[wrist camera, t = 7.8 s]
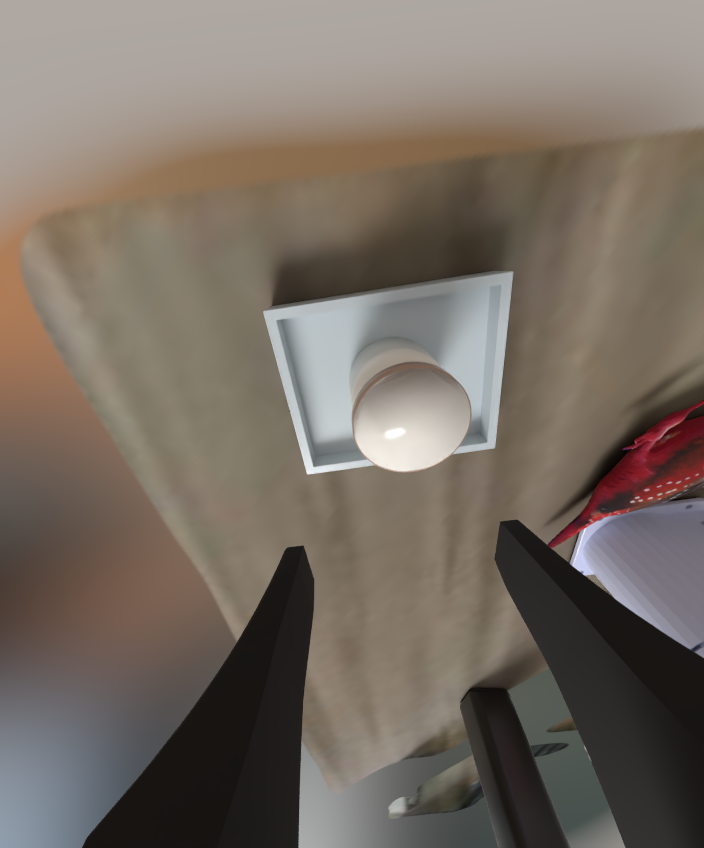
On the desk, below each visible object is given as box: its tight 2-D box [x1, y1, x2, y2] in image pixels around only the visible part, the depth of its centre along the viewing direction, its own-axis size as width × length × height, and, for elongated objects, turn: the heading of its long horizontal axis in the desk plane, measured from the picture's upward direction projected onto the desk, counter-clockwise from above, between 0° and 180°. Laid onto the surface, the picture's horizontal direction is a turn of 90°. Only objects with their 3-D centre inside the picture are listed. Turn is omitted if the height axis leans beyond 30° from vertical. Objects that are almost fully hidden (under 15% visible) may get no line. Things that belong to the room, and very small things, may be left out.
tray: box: [263, 271, 513, 474], centre depth 17 cm, size 12×10×2 cm
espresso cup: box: [349, 337, 472, 472], centre depth 15 cm, size 5×5×6 cm
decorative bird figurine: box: [548, 400, 704, 548], centre depth 21 cm, size 3×18×10 cm
